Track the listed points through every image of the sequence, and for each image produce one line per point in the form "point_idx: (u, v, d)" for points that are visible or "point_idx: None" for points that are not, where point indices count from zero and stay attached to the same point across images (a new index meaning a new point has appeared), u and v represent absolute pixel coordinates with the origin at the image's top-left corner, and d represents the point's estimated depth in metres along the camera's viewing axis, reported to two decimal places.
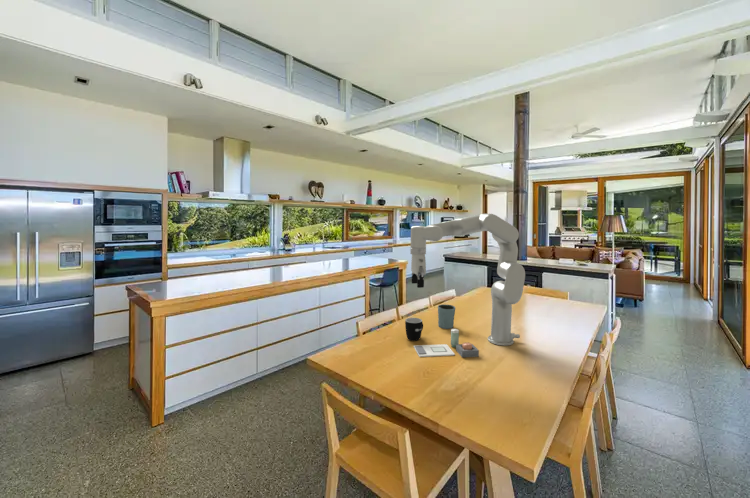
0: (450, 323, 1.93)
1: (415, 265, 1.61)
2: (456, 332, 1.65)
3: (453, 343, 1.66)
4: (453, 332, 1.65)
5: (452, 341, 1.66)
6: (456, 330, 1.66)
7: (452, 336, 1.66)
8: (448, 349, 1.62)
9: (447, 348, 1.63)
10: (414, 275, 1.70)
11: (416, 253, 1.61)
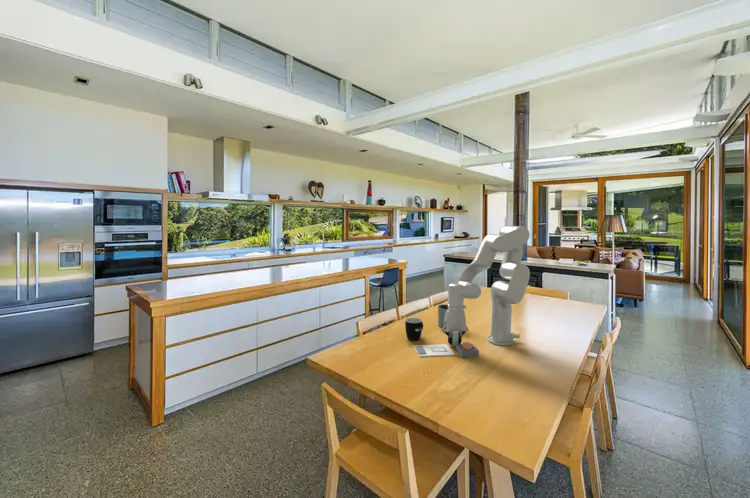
0: None
1: (463, 322, 1.64)
2: (456, 332, 1.65)
3: (453, 343, 1.66)
4: (453, 332, 1.65)
5: (452, 341, 1.66)
6: None
7: (452, 336, 1.66)
8: (448, 349, 1.62)
9: (447, 348, 1.63)
10: None
11: (463, 310, 1.64)
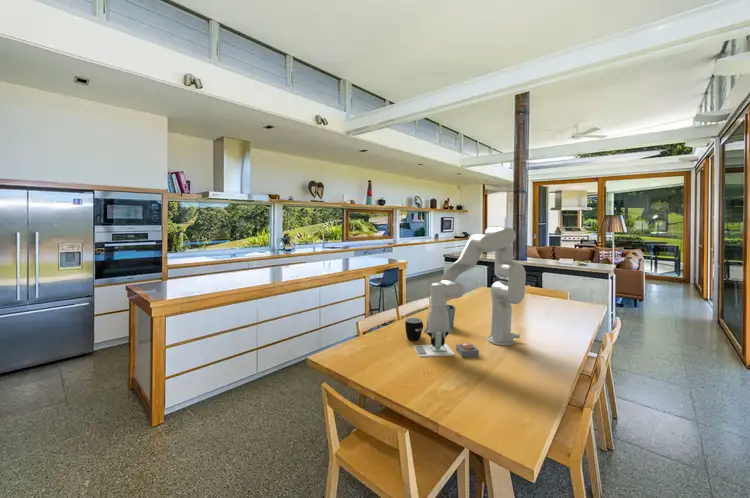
0: (450, 323, 1.93)
1: (446, 323, 1.59)
2: (439, 333, 1.59)
3: (436, 344, 1.60)
4: (435, 333, 1.60)
5: (435, 342, 1.60)
6: None
7: (435, 337, 1.60)
8: (448, 349, 1.62)
9: (447, 348, 1.63)
10: None
11: (446, 310, 1.59)
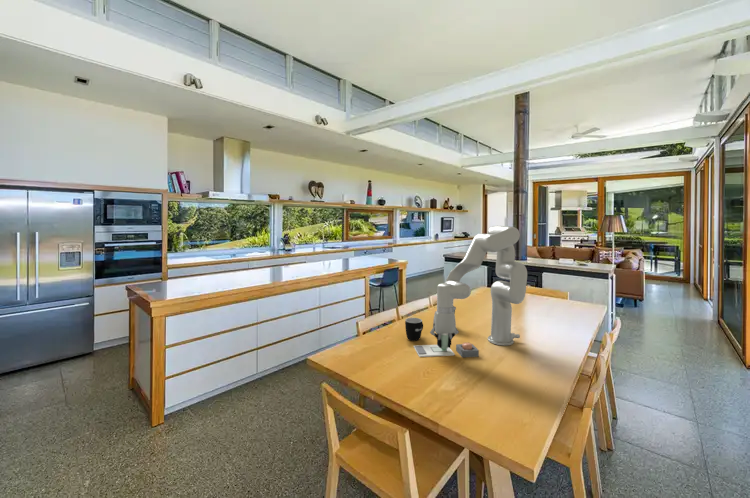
0: None
1: (453, 324, 1.58)
2: (445, 334, 1.58)
3: (442, 346, 1.59)
4: (442, 334, 1.59)
5: (441, 344, 1.59)
6: None
7: (441, 338, 1.59)
8: (448, 349, 1.62)
9: (447, 348, 1.63)
10: (440, 337, 1.60)
11: (452, 312, 1.57)
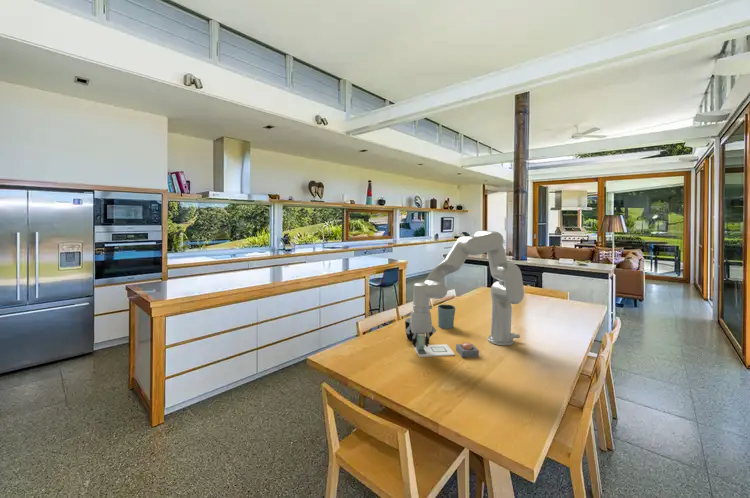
0: (450, 323, 1.93)
1: (429, 323, 1.58)
2: (422, 335, 1.58)
3: (419, 346, 1.59)
4: (418, 335, 1.59)
5: (418, 344, 1.60)
6: (422, 333, 1.60)
7: (418, 339, 1.59)
8: (448, 349, 1.62)
9: (447, 348, 1.63)
10: None
11: (428, 311, 1.58)
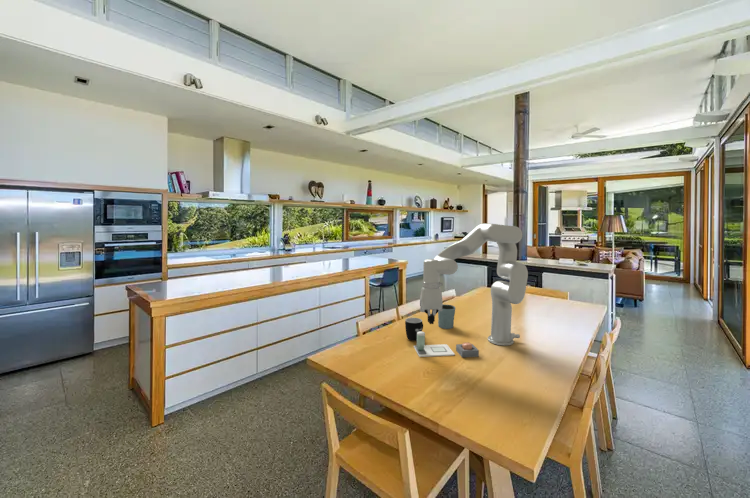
0: (450, 323, 1.93)
1: (439, 300, 1.56)
2: (422, 335, 1.58)
3: (419, 346, 1.59)
4: (418, 335, 1.59)
5: (418, 344, 1.60)
6: (422, 333, 1.60)
7: (418, 339, 1.59)
8: (448, 349, 1.62)
9: (447, 348, 1.63)
10: (430, 313, 1.58)
11: (439, 287, 1.56)
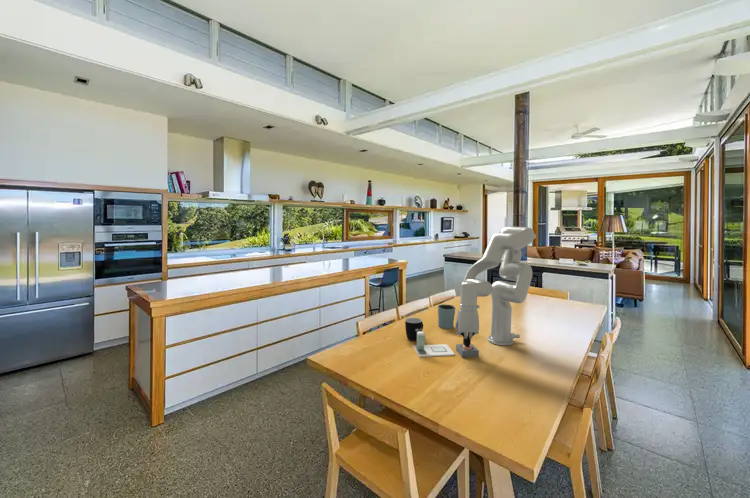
0: (450, 323, 1.93)
1: (476, 323, 1.55)
2: (422, 335, 1.59)
3: (419, 346, 1.59)
4: (418, 335, 1.59)
5: (418, 344, 1.60)
6: (422, 333, 1.60)
7: (418, 339, 1.59)
8: (448, 349, 1.62)
9: (447, 348, 1.63)
10: (466, 336, 1.58)
11: (476, 310, 1.55)
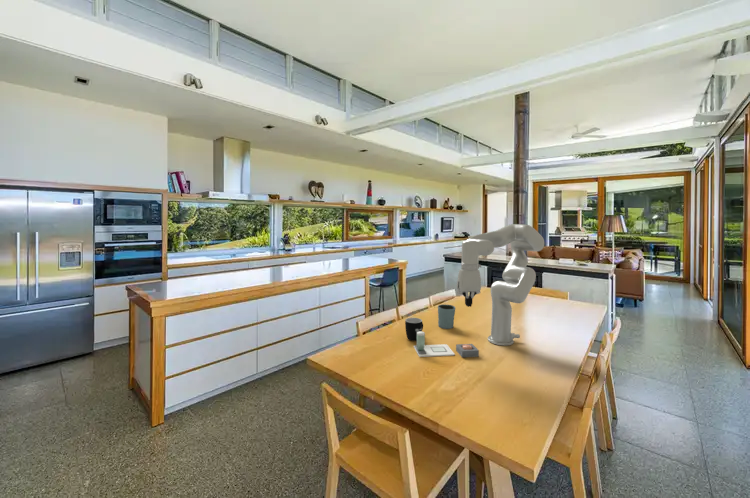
0: (450, 323, 1.93)
1: (478, 282, 1.53)
2: (422, 335, 1.59)
3: (419, 346, 1.59)
4: (418, 335, 1.59)
5: (418, 344, 1.60)
6: (422, 332, 1.60)
7: (418, 339, 1.59)
8: (448, 349, 1.62)
9: (447, 348, 1.63)
10: (468, 295, 1.56)
11: None
